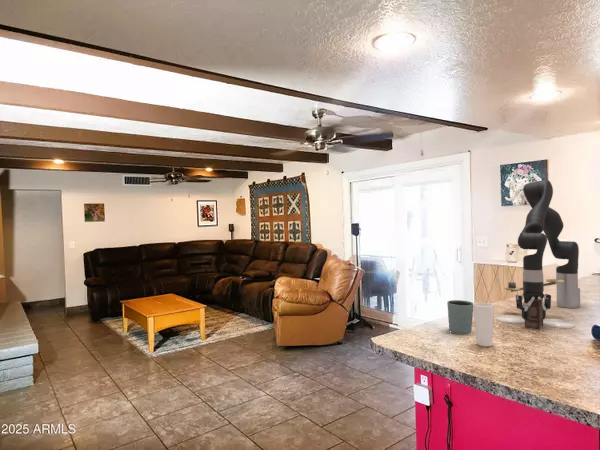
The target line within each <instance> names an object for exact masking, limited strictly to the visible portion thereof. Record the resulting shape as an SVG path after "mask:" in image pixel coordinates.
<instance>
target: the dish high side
mask: <svg viewBox="0 0 600 450" xmlns="http://www.w3.org/2000/svg"><path fill="white" fill-rule="evenodd" d="M543 326H545V327H549V328H554V329H574V328H576V324H575V322H573V321H569V320H564V319H558V318H545V319H543Z"/></svg>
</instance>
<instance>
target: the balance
mask: <svg viewBox="0 0 600 450" xmlns="http://www.w3.org/2000/svg"><path fill="white" fill-rule="evenodd" d="M563 282H564V280H559V279H556V278H548V279H545V282H544V287H547V286H553V285H556V283H563ZM507 285H508V286H504V287H503V290H506V291H507V290H508V291H510V292H511V293H513V292H518V291H523V287H518V286H517V283H516V282H515V281H514V282H513V281H511V282H508V283H507Z"/></svg>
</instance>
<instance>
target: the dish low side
mask: <svg viewBox="0 0 600 450" xmlns="http://www.w3.org/2000/svg"><path fill="white" fill-rule="evenodd" d="M495 320H496V321H497V322H499V323H504V324H511V325H512V324H513V325H523V324H525V320H524V319H523V318H522V316H520V315H512V314H511V315H510V314H501V315H500V314H499V315H496V316H495Z"/></svg>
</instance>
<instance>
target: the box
mask: <svg viewBox="0 0 600 450" xmlns="http://www.w3.org/2000/svg"><path fill="white" fill-rule="evenodd" d="M542 301H543V302H544V298H543V299H542V300H538V299H534V301H533V302H532V303H531V305H530V307H528V309H527V314H528V320H525V323H524V327H527V328H533V329H538V330H541V329H543V328H544V325H543V320H544V319H543V306H542ZM523 302H524V303H526V304H527V303H528V302H526V300H525V299H524V298H523Z"/></svg>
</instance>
